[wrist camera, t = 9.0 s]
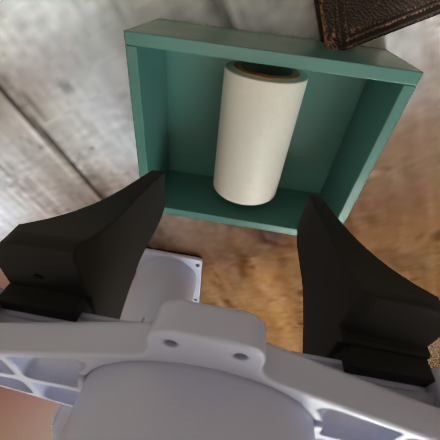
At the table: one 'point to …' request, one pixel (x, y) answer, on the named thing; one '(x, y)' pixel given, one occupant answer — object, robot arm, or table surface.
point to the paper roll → (255, 129)
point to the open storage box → (303, 131)
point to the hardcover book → (367, 19)
